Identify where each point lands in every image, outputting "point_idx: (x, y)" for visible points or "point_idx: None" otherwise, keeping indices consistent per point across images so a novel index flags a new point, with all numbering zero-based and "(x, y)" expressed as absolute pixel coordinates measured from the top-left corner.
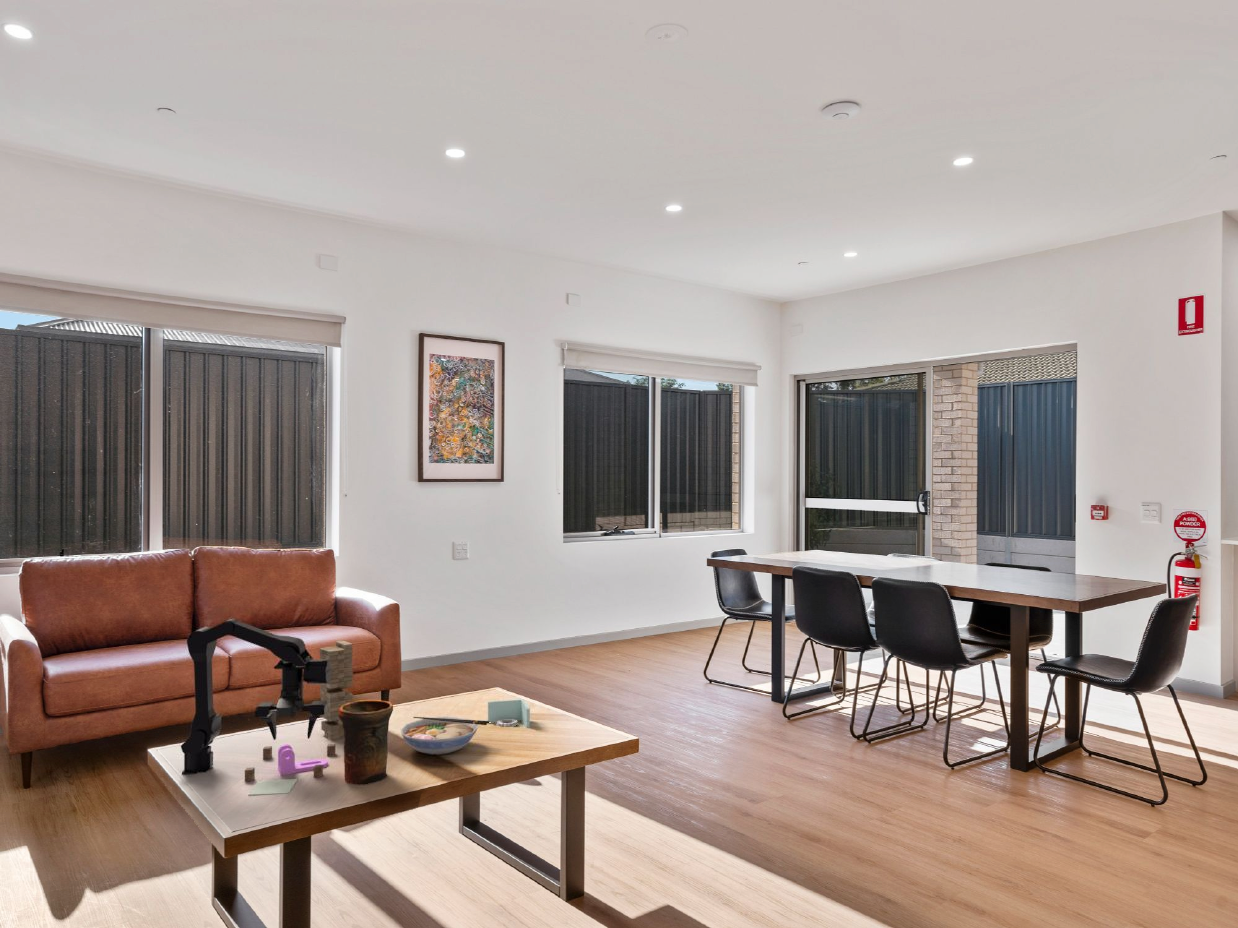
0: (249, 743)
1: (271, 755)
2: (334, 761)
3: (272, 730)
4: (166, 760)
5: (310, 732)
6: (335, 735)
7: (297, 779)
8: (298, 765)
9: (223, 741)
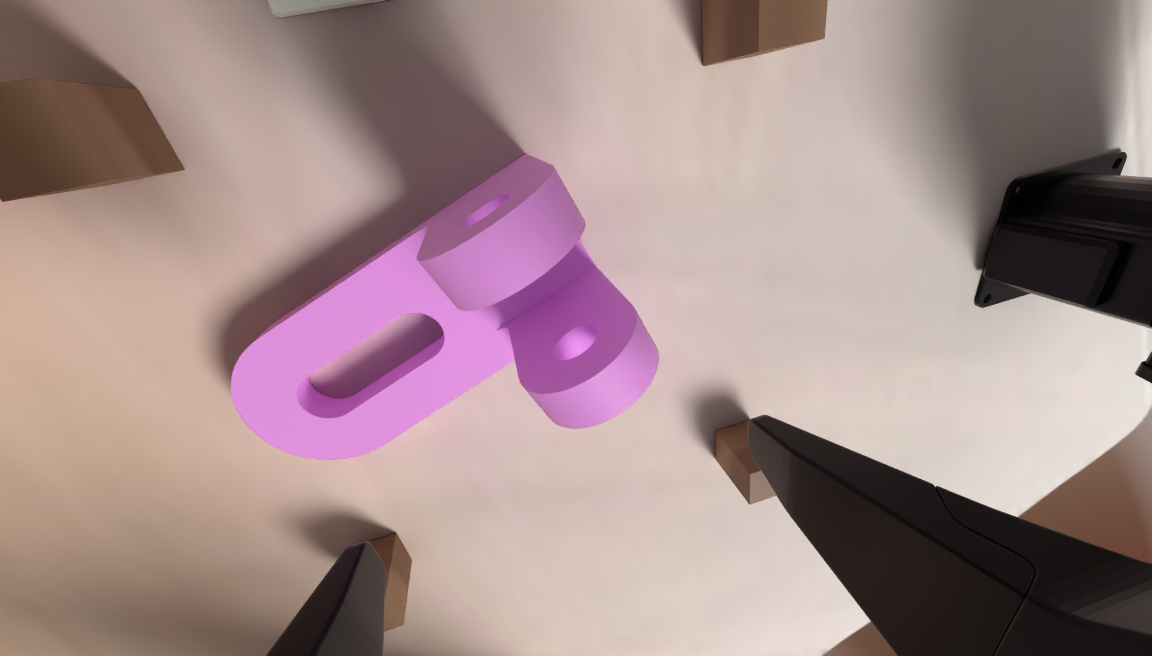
0: None
1: (720, 457)
2: (276, 479)
3: (875, 481)
4: None
5: (283, 635)
6: None
7: (270, 4)
8: (446, 308)
9: None
